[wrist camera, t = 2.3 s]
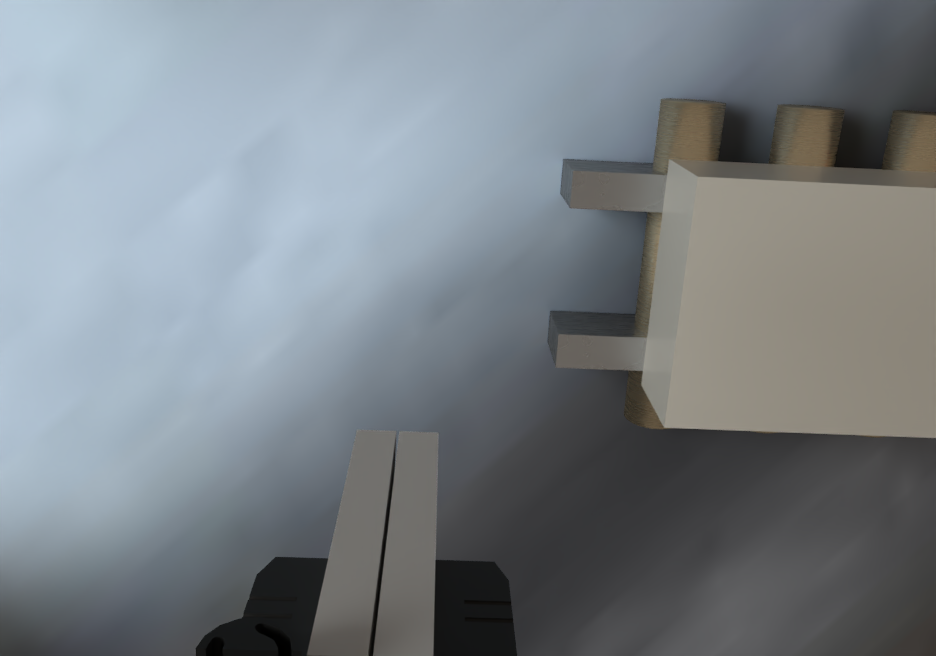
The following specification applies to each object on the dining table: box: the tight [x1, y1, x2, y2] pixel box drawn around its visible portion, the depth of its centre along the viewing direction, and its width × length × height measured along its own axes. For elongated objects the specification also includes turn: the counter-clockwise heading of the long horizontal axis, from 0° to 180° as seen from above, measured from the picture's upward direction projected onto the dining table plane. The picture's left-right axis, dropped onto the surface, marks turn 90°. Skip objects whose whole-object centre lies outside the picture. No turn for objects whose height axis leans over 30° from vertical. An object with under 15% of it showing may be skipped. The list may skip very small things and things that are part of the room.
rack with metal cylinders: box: [548, 98, 936, 437], centre depth 35 cm, size 14×27×5 cm, turn 87°
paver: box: [641, 159, 936, 438], centre depth 33 cm, size 9×12×4 cm
